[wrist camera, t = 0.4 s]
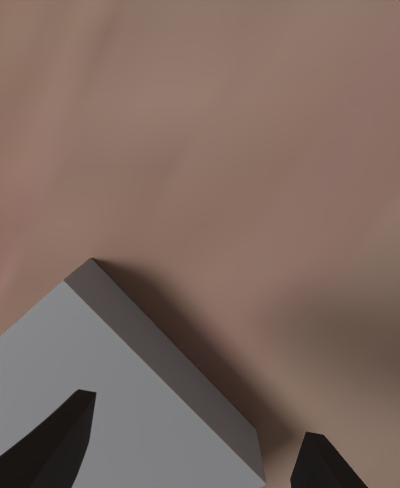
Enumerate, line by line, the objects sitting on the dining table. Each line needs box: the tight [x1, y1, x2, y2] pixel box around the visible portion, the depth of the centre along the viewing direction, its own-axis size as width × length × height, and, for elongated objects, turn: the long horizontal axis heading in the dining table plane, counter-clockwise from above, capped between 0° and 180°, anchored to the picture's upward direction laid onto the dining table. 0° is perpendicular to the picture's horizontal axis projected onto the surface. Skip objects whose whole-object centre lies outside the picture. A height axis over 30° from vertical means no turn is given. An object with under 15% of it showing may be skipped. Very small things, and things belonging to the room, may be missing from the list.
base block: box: [0, 258, 266, 488], centre depth 21 cm, size 16×16×4 cm
